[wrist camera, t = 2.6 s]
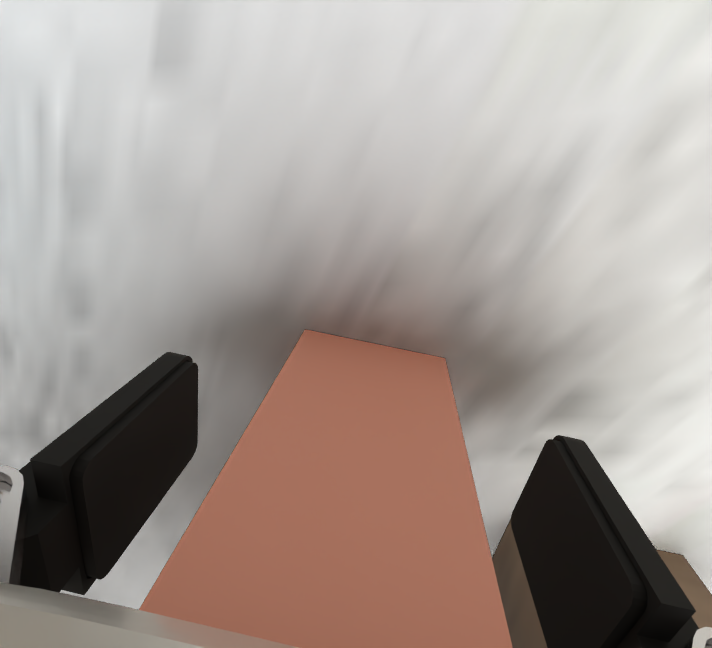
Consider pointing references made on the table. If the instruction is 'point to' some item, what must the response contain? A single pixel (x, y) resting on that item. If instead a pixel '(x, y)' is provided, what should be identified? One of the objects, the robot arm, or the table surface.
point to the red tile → (343, 513)
